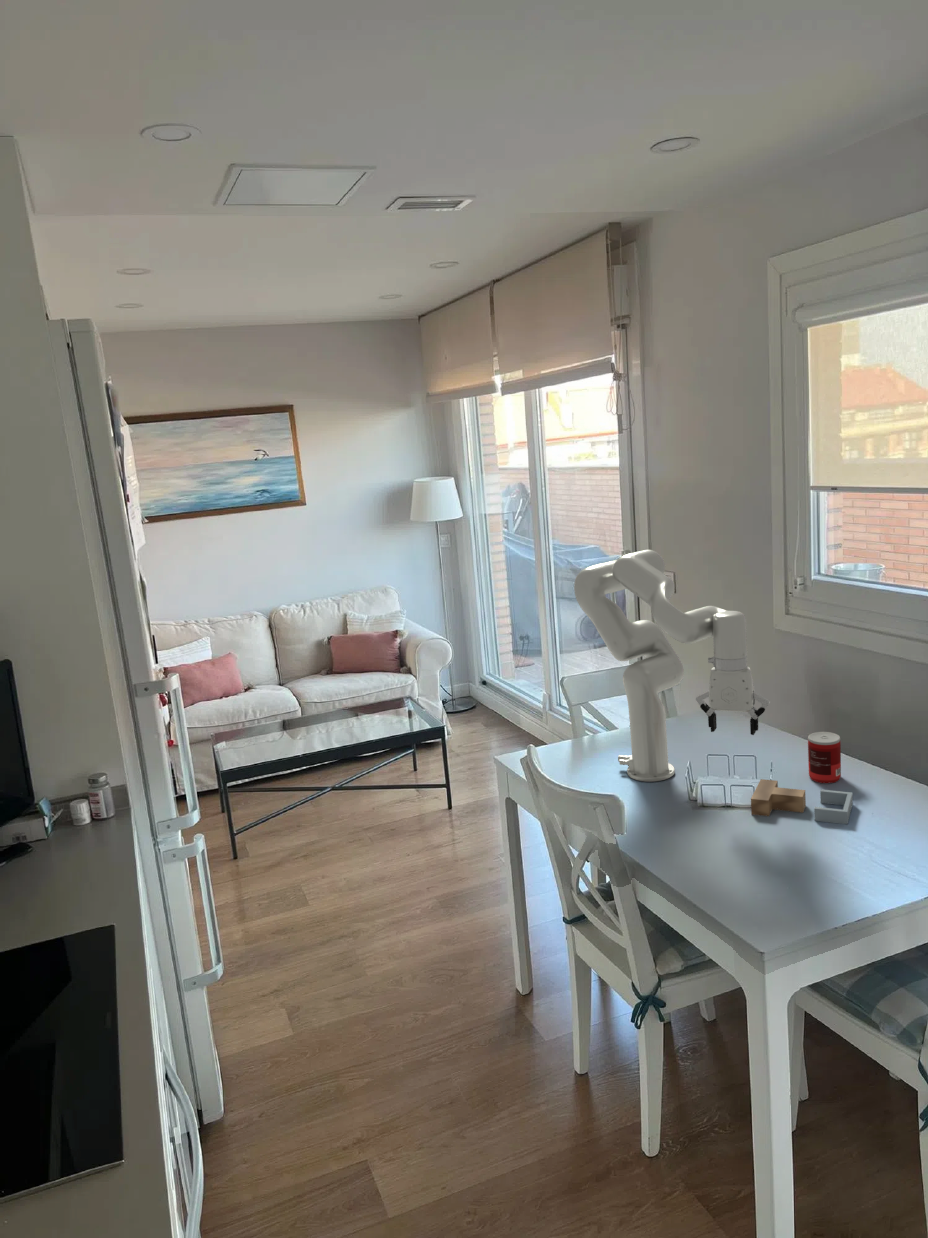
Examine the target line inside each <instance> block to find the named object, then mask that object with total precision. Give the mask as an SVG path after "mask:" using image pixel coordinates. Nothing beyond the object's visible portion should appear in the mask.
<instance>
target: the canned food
mask: <svg viewBox="0 0 928 1238" xmlns="http://www.w3.org/2000/svg"><path fill="white" fill-rule="evenodd" d="M841 745H842V743H841V736H840V735H839V734H837V733H834V732H830V731H815V732H813V733H810V734H808V737H807V752H808V753H807V757H808V758H807V759H808V762H807V763H808V776H809V779H810V780H812V781H814V782H816V783H820V784H833V783H837V782H838V781H839V780H840V779H841V777H842V760H841V759H842V758H841V757H842V756H841V754H842V753H841V752H842V751H841V750H842V749H841V747H842V746H841Z"/></svg>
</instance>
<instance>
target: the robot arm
mask: <svg viewBox="0 0 928 1238" xmlns="http://www.w3.org/2000/svg"><path fill="white" fill-rule="evenodd" d="M665 570H666V563H665V560H664V558H663V557H662V555H661V554H659V552H657V551H656V550H652V549H644V550H640V551H639V550H638V551H635V552H630V553H627V554H624V555H622V556H620V557H619V558H617V559H615V560H610V561H606V562H602V563H598V564H592V565H591V566H588V567H585V568H584V569H582V570H580V571H579V572H578V574H577V575H576V577H575V579H574V585H573V588H574V590H573V591H574V596H575V599H576V601H577V604H578V606H579V607H580V608H581V610H582V611H583V612H584V614H585V615H586V616H587V617H588V618H589V620H590V621H591V623H593V625H594V627H595V629H596V631H597V632H598V634H599V636H600V637H601V639H602V641H603V642H604V644H605V646H606V647H607V649H608V651H609V652H610V654H611V655H612V656H613V658H614V659H615V660H617V661H619V662H628V661H631V660H635V659H638V658H642V657H643V656H644V658H642V659H639V660H637V661H635V662H633V663H631V664H629V665H628V666H627V667H626V668H625V669H624V671H623V674H622V683H623V688H624V692H625V695H626V699H627V706H628V719H629V729H630V744H631V745H630V746H631V754H630V755H625V754H618V756H617V761H618V762H619V765H620V766H622V765H623V766H627V769H626V771H627V773H626V775H628V777H630V778H631V779H633V780H636V781H639V782H650V783H651V782H660V781H665V780H668V779H670V778H671V777H673V776H674V775H675V774H676V773H675V770H676V769H675V767H674V765H673V764H671V763H670V762H669V755H668V753H669V752H668V750H669V749H668V734H667V717H666V708H665V705H664V704H663V702H662V700H661V698H660V697H659V693H660V692H663V691H665V690H669V689H671V688H674V687H675V686H678V685H679V684H681V682H682V680H683V679H684V675H685V670H684V665H683V663H682V661H681V659H680V658H679V655H678V654H677V652H676V651H675V648H673V646H672V644H671V643H670V641H669V639H668V638H667V636H666V635H668V636H669V637H670V638H672V639H673V640H675V641H677V642H679V643H681V644H685V645H686V644H687V645H690V644H691V645H692V644H694V643H697V642H700V641H704V640H707V639H710V638H712V639H713V656H711V657H708V658H707V663H708V664H711V665H713V667H712V668H711V670H710V673H709V684H708V685H709V686H708V690H707V691H705V692H703V693H701V694H698V695H697V696H696V697H695V701H696V702H697V704H698V705H699V706H700V707H699V708H700V709H701V710H702V711H703V712H704V713H705V715H706V716H707V723H708V724H707V725H708V728H710V732H711V733H714V732H715V731H716V729H717V713H716V711H721V712H735V713H736V712H737V713H748V715H749V716H750V719H749V724H750V725H749V726H750V727H749V729H750V735H751V736H754V735H755V734H756V732H757V731H759V717H760V716H762V715H763V714H764V712H766V709H767V708H768V706H769V704H770V703H771V700H770V699H768V698H766V697H764V696H763V695H761V694H760V693H758V692H756V691H755V686H754V685H755V684H754V679H753V674H752V673H753V672H752V670H751V668H750V666H748V648H747V647H748V646H747V645H748V642H747V641H748V640H747V618H746V616H745V614H744V613H743V612H741V611H739V610H726V609H724V608H721V607H718V606H715V605H707V606H703V607H700V608H696V609H692V610H689V611H686V612H685V611H684V612H683V611H682V610H681V609H679V608H677V607H676V606H675V605H673V604H672V603H671V602H670V600H671V598H672V596H673V594H674V592H675V588H676V587H675V583H674V580H673V579H672V578H671V577H669V576H668V575H666V574H665ZM624 590H628V591H630V592H631V593H633V594H634V595H635V596H636V597H638V598H639V599H641V600H642V601H643V602H644V603H646V604H647V605H648V606H650V613H651V615H652V618H653V620H654V622H653V621H652V620H649V619H641V620H636V621H633V622H632V621H630V620H629V619H628V617H627V616H626V614H625V613H624V611H623V609H622V608H621V607H620V606H619V604H616V602H614V601H613V600H611V599H610V598H608V597H607V596H606V595H608V594H612V593H616V592H620V591H624ZM665 633H666V635H665ZM705 699H708V704H707V703H706V702H705ZM756 701H757V702H758V703H760V704H761V706H760V707H759V708H758V709H757V708H756V706H755V704H756Z"/></svg>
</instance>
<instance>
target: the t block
mask: <svg viewBox="0 0 928 1238" xmlns="http://www.w3.org/2000/svg"><path fill="white" fill-rule="evenodd" d="M806 802H807V801H806V789H800V788H799V789H798V788H797V789H796V788H786V787H779V783H778V780H775V779H763V778H762V779H759V781H758V783H757V786H756V787H755V790H754V791H753V794H752V795H751V798H750V804H751V805H750V810H751V813H750V814H751V815H755V816H764V817H770V815H771V813H772V811H773V810H775V811H783V812H784V811H785V812H793V813H804V811H805V808H806V806H807V805H806V804H807V803H806Z"/></svg>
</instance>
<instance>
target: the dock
mask: <svg viewBox="0 0 928 1238" xmlns="http://www.w3.org/2000/svg"><path fill="white" fill-rule="evenodd" d="M819 793H820V795H819V796H820V797H819V798H820V804H826V805H828V804H829V805H836V806H838V805H839V806H843V808H842V809H839V808H831V807H821V806H814V807H813V811H814V812H813V813H814V822H824V823H832V824H833V823H834V824H840V825H841V824H842V825H848V824H849V821H850V817H851V813H852V809H853V805H854V803H853V801H854V800H853V798H854V797H853V796H854V795H853V793H854V792H852V791H851V792H849V791H839V790H829V789H820V792H819Z"/></svg>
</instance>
